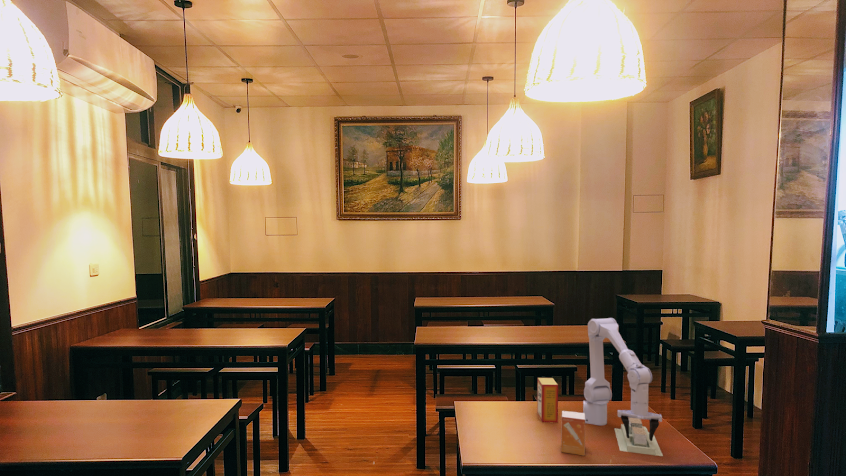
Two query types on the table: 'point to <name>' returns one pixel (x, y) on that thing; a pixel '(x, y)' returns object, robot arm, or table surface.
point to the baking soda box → (547, 400)
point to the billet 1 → (634, 424)
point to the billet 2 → (639, 437)
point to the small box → (573, 433)
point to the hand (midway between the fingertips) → (639, 438)
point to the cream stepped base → (627, 446)
